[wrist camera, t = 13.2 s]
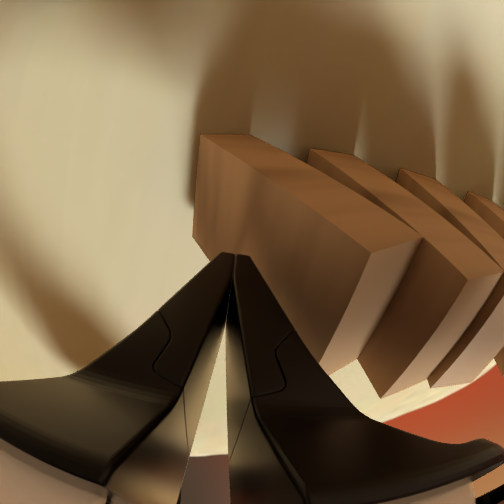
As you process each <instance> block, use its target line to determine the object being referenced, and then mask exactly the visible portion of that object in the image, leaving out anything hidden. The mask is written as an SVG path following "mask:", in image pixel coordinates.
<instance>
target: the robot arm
mask: <svg viewBox="0 0 504 504" xmlns="http://www.w3.org/2000/svg"><path fill="white" fill-rule="evenodd" d="M234 260H235V261H234ZM233 267H234V268H233ZM232 274H233V275H232ZM231 281H232V282H231ZM230 289H231V290H230ZM229 296H230V297H229ZM228 303H229V304H228ZM227 310H228V311H227ZM226 318H227V319H226ZM225 324H226V390H227V428H228V456H229V479H230V499H231V504H504V484H503V485H501V486H499V487H497V488H495V489H493V490H492V491H490V492H488V493H486V494H484V495H482V496H480V497H478V498H475V494H474V489H473V484H472V482H473V481H474V480H477V479H478V478H480V477H482V476H484V475H485V474H487V473H489V472H491V471H492V470H494V469H496V468H497V467H499V466H500V465H502V464H503V463H504V448H502V447H501V446H500V445H498V444H496V443H493V442H491V441H489V440H486V439H476V440H473V441H470V442H467V443H462V444H447V443H441V442H437V441H433V440H429V439H427V438H423V437H420V436H417V435H414V434H411V433H408V432H405V431H403V430H400V429H397V428H394V427H391V426H389V425H386V424H383V423H381V422H378V421H375V420H373V419H371V418H369V417H367V416H365V415H364V414H363V413H361V412H360V411H359V410H358V409H357V408H356V407H354V405H353V404H352V403H351V402H350V401H349V400H348V399H347V397H346V396H345V395H344V394H343V393H342V391H341V390H340V389H339V388H338V387H337V385H336V384H335V383H334V382H333V381H332V379H331V378H330V377H329V376H328V374H327V373H326V372H325V371H324V370H323V368H322V367H321V366H320V364H319V363H318V362H317V361H316V359H315V358H314V357H313V355H312V354H311V353H310V351H309V350H308V348H307V347H306V345H305V344H304V342H303V341H302V339H301V338H300V336H299V334H298V333H297V331H296V330H295V328H294V326H293V325H292V323H291V322H290V320H289V318H288V317H287V315H286V314H285V312H284V310H283V309H282V307H281V306H280V304H279V302H278V301H277V299H276V297H275V296H274V294H273V293H272V291H271V289H270V288H269V286H268V285H267V283H266V281H265V280H264V278H263V276H262V275H261V273H260V272H259V270H258V268H257V267H256V265H255V263H254V262H253V260H252V259H251V257H250V256H249V255H242V254H236V255H235V254H234V253H228V252H220V253H219V254H218V255H217V256H216V257H215V258H214V259H213V260H212V261H210V262H209V263H208V264H207V265H206V266H205V267H204V268H203V269H202V270H201V271H199V272H198V273H197V274H196V275H195V276H194V277H193V278H192V279H191V280H190V281H189V282H188V283H186V284H185V285H184V286H183V287H182V288H181V289H180V290H179V291H178V292H177V293H176V294H175V295H173V296H172V297H171V298H170V299H169V300H168V301H167V302H166V303H165V304H164V305H163V306H162V307H161V308H159V310H158V311H156V312H155V313H154V314H153V315H152V316H151V317H150V318H149V319H147V320H146V321H145V322H144V323H143V324H142V325H141V326H139V327H138V328H137V329H136V330H135V331H133V332H132V333H131V334H129V335H128V336H127V337H126V338H124V339H123V340H122V341H120V342H119V343H117V344H116V345H115V346H113V347H112V348H111V349H109V350H108V351H106V352H105V353H104V354H102V355H101V356H100V357H98V358H97V359H95V360H94V361H93V362H91V363H90V364H89V365H87V366H86V367H84V368H83V369H81V370H79V371H77V372H75V373H73V374H70V375H67V376H63V377H56V378H45V379H34V380H20V381H2V382H0V504H180V500H181V485H182V481H183V477H184V474H185V470H186V466H187V463H188V459H189V455H190V452H191V448H192V444H193V441H194V437H195V434H196V430H197V426H198V423H199V419H200V415H201V412H202V408H203V404H204V401H205V397H206V394H207V390H208V386H209V383H210V379H211V376H212V372H213V368H214V365H215V361H216V358H217V354H218V350H219V347H220V343H221V340H222V336H223V333H224V328H225Z"/></svg>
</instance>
